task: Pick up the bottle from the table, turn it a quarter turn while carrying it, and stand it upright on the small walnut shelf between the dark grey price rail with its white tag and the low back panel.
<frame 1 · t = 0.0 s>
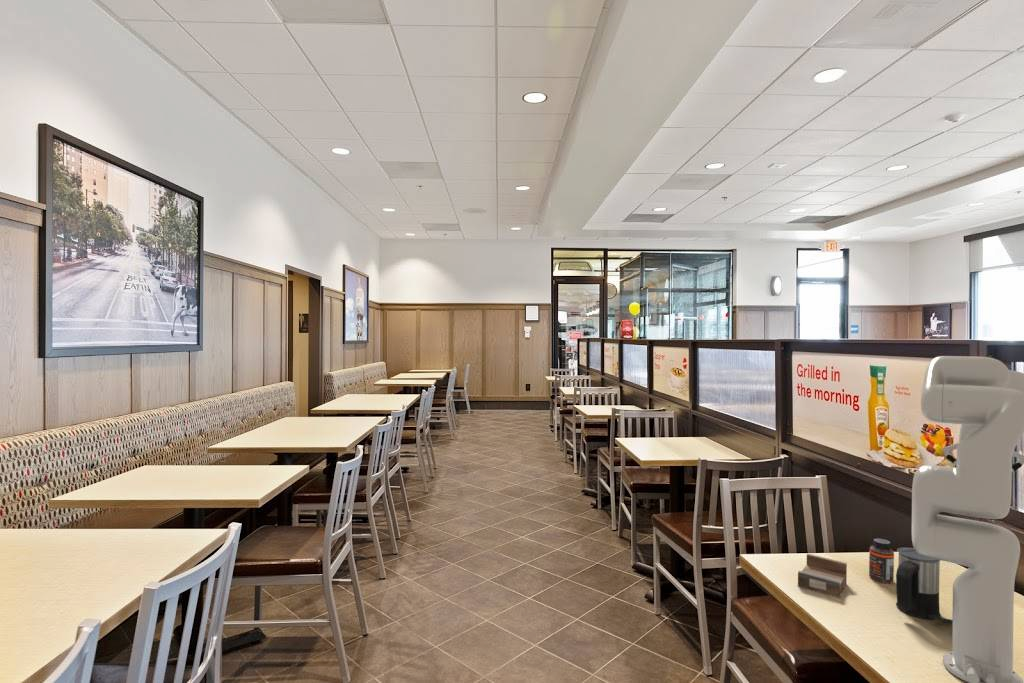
hand: (982, 482, 145), 31 cm above the table, tool pointing down, fingers open, 9 cm apart
supplement bottle: (881, 580, 156), on the table
shelf: (822, 585, 152), on the table
milk frother: (933, 619, 134), on the table
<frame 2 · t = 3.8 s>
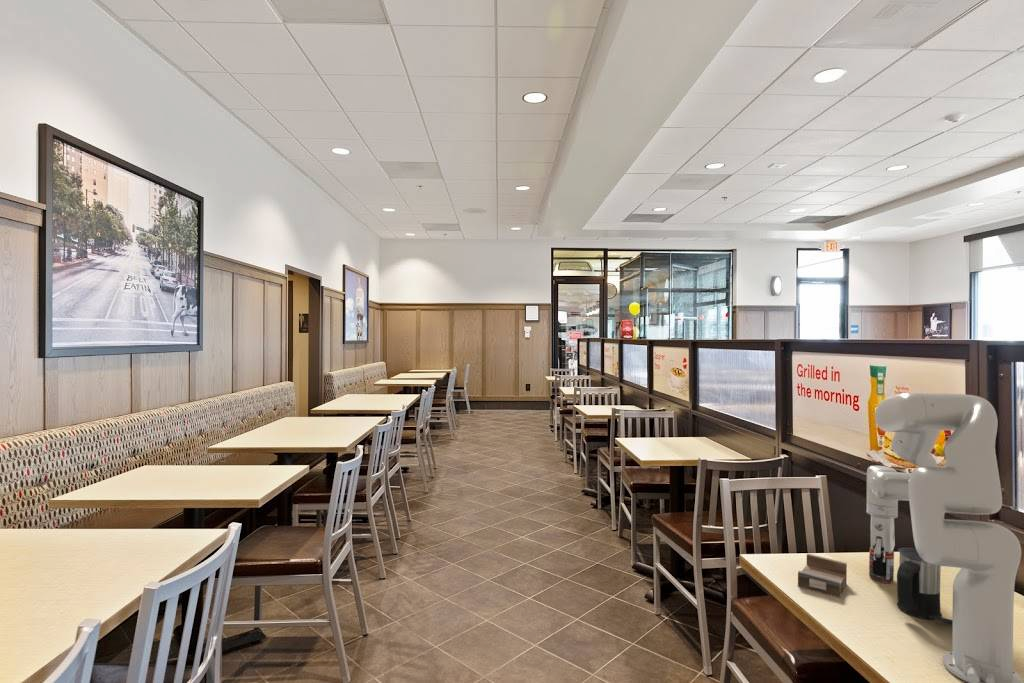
hand: (881, 570, 156), 3 cm above the table, tool pointing down, fingers closed on supplement bottle, 5 cm apart
supplement bottle: (881, 579, 156), on the table, touching gripper
everything else where it was.
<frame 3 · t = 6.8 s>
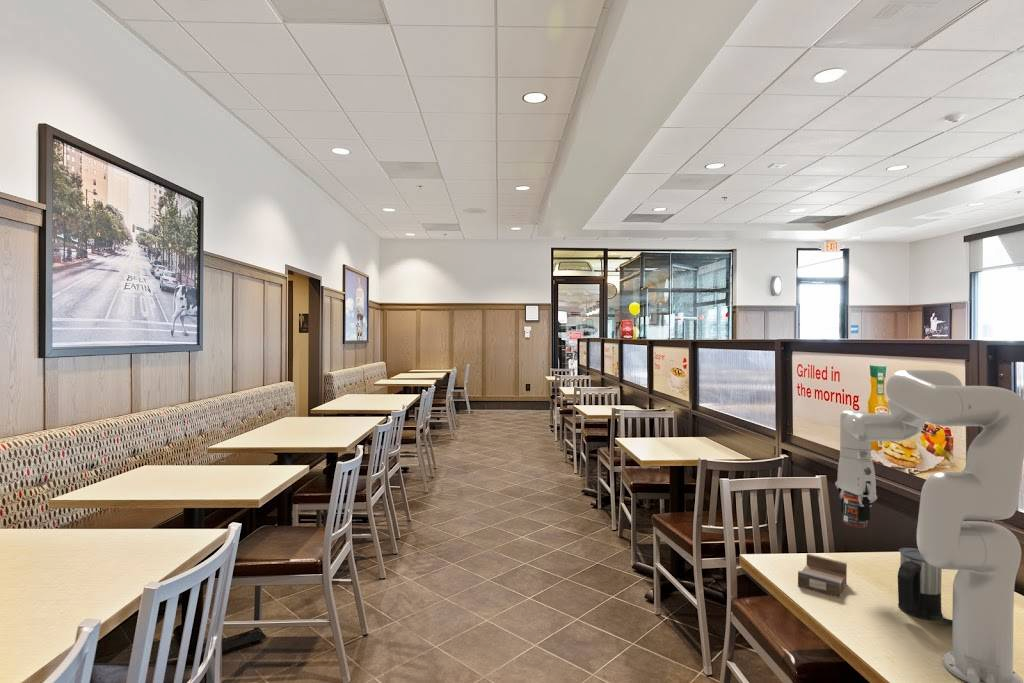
hand: (855, 515, 154), 19 cm above the table, tool pointing down, fingers closed on supplement bottle, 5 cm apart
supplement bottle: (855, 525, 154), point 16 cm above the table, touching gripper
everything else where it was.
when the fingers open (7 cm above the table, at t = 9.9 s): supplement bottle drops 1 cm, resting on shelf.
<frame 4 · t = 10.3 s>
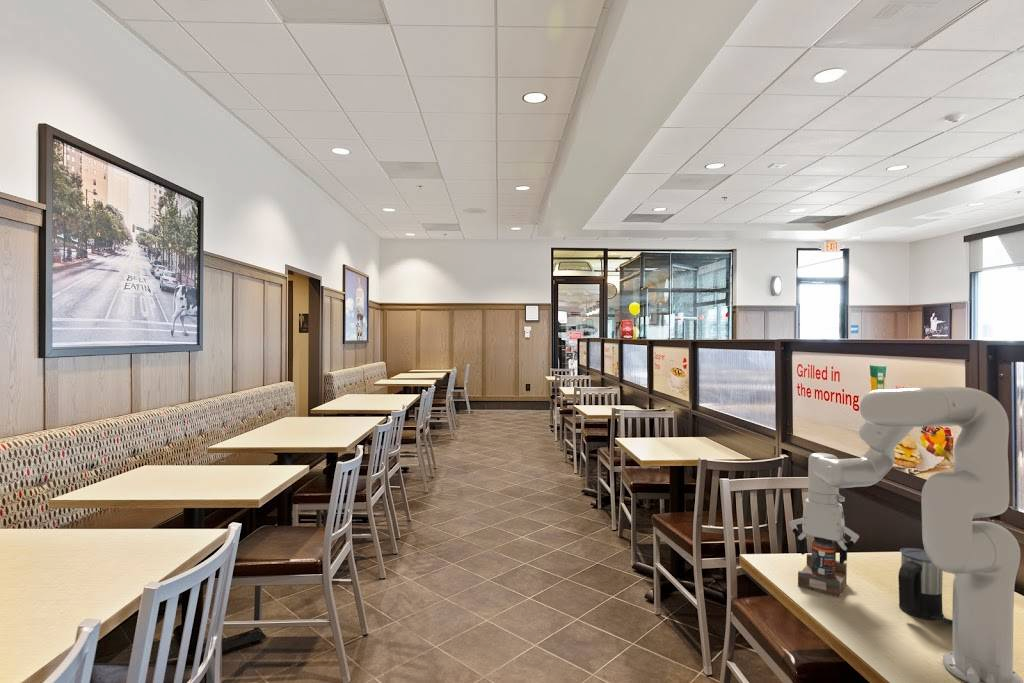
hand: (822, 557, 152), 8 cm above the table, tool pointing down, fingers open, 9 cm apart
supplement bottle: (823, 575, 152), point 3 cm above the table, touching shelf
everything else where it was.
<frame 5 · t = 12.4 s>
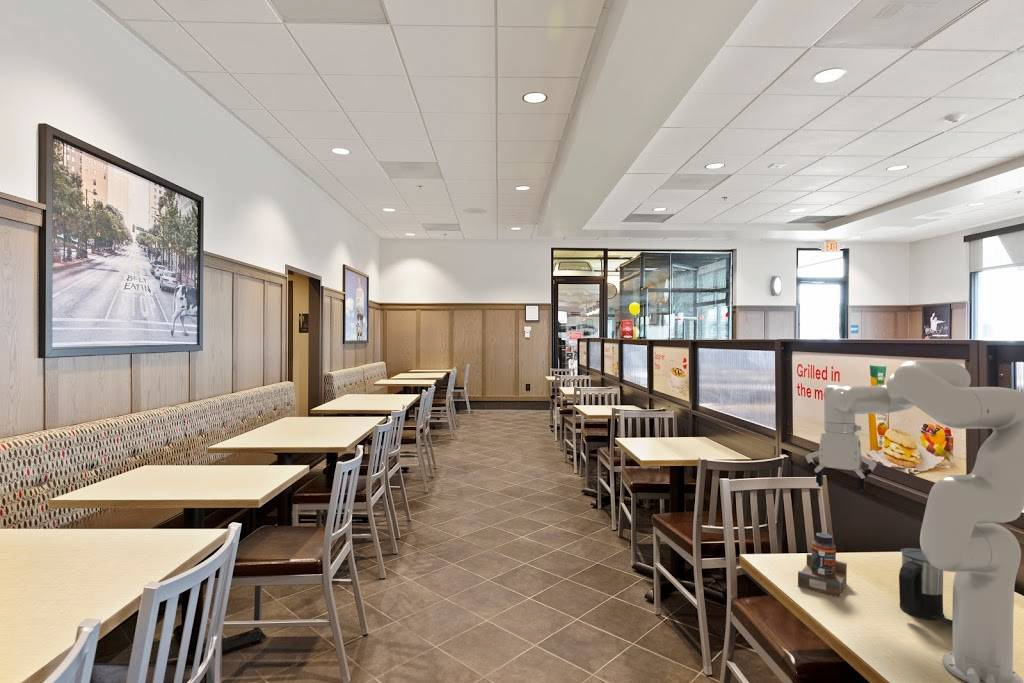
hand: (839, 488, 152), 27 cm above the table, tool pointing down, fingers open, 9 cm apart
nothing on the table moved.
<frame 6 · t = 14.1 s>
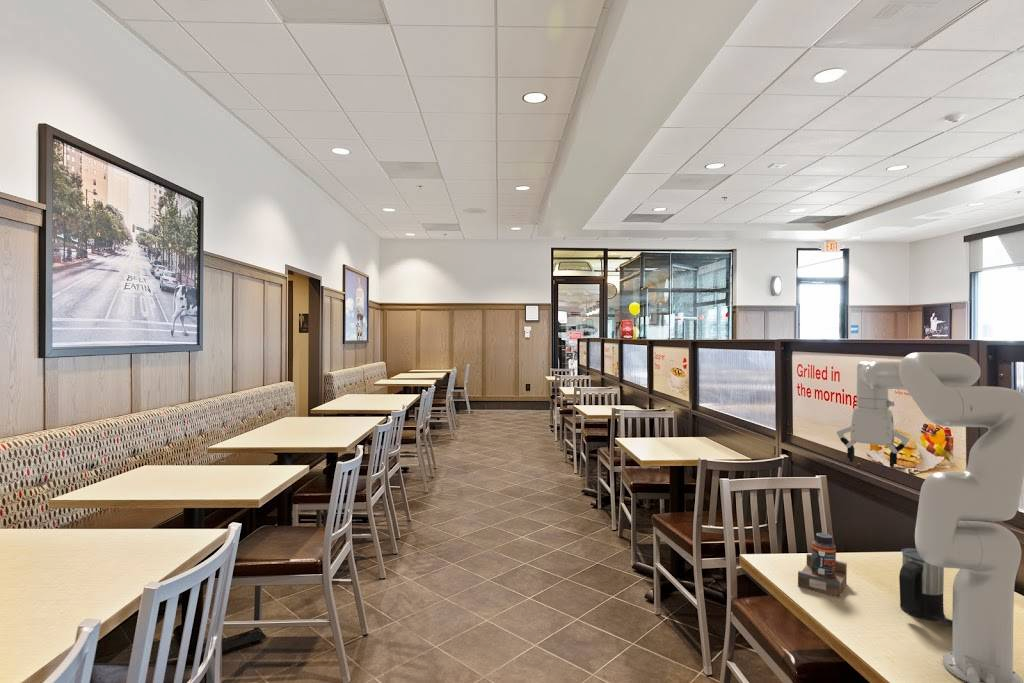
hand: (871, 463, 153), 34 cm above the table, tool pointing down, fingers open, 9 cm apart
nothing on the table moved.
at the end: supplement bottle inside the target area on the shelf (0.2 cm from its centre), point 2.8 cm above the shelf's base; supplement bottle tilted 0°; the gripper is holding nothing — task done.
